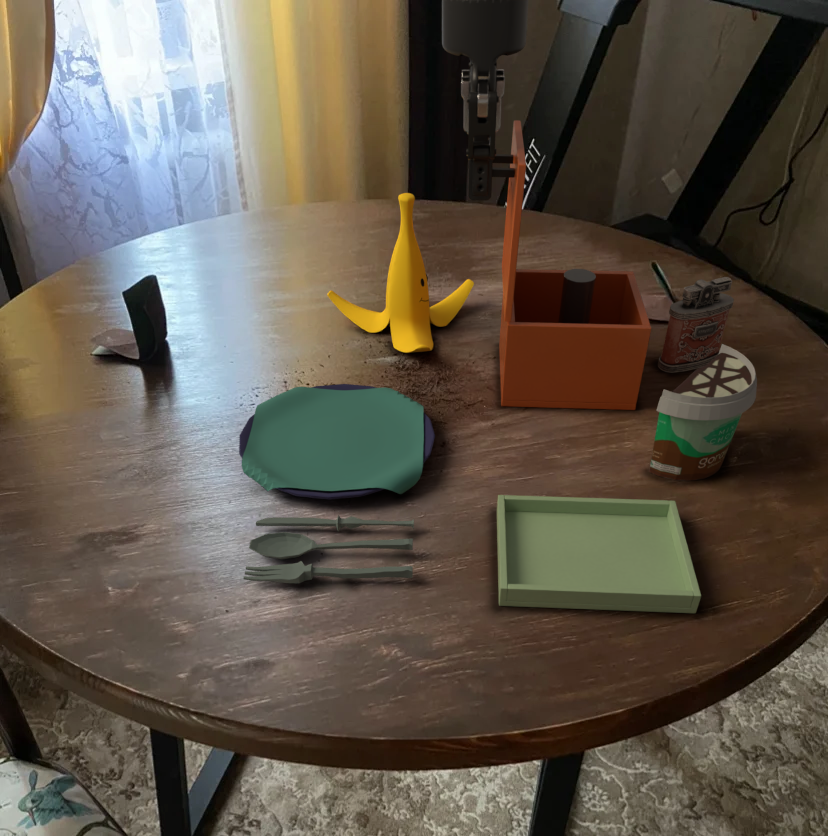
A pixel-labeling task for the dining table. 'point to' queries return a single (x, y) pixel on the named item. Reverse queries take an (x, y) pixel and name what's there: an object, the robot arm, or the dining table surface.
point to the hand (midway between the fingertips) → (479, 187)
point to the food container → (702, 417)
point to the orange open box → (573, 344)
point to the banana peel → (406, 294)
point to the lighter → (696, 326)
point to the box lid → (512, 212)
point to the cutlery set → (333, 466)
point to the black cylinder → (577, 296)
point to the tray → (594, 554)
